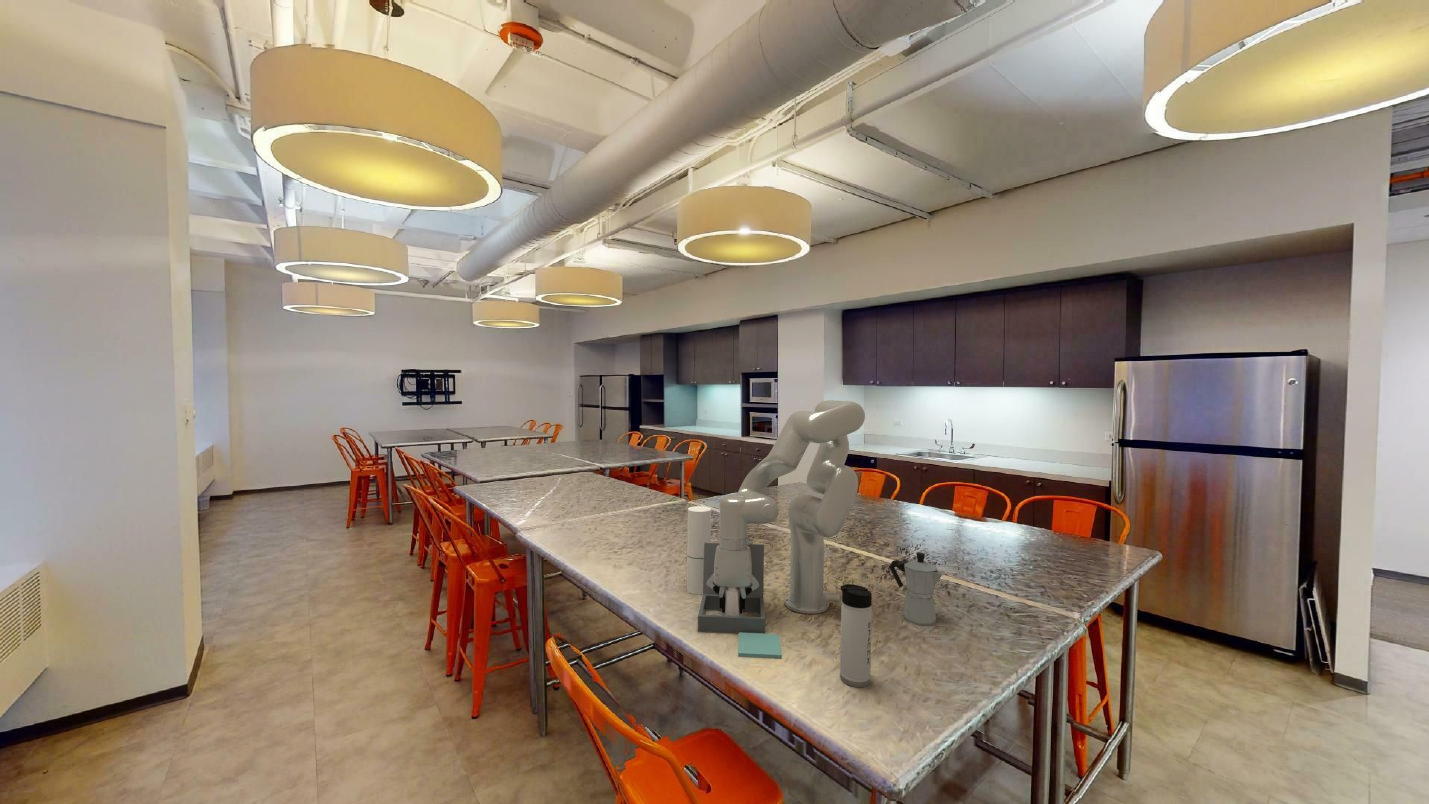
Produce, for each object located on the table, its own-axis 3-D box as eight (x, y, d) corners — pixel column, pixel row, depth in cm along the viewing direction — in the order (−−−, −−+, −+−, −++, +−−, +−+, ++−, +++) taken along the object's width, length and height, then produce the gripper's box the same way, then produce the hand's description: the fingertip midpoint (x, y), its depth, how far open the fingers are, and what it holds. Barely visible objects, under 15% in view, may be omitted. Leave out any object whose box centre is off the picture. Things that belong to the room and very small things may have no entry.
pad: (779, 637, 127) (779, 634, 127) (781, 658, 117) (781, 655, 117) (738, 635, 127) (739, 632, 127) (738, 656, 117) (738, 653, 117)
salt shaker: (717, 620, 135) (718, 579, 135) (731, 614, 139) (732, 574, 139) (732, 627, 132) (732, 585, 131) (746, 621, 135) (746, 580, 135)
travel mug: (834, 671, 111) (836, 581, 111) (863, 670, 112) (865, 581, 112) (844, 688, 105) (846, 593, 105) (875, 687, 106) (877, 592, 105)
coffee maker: (948, 620, 137) (950, 554, 137) (937, 631, 131) (939, 562, 130) (895, 604, 147) (896, 542, 147) (881, 613, 141) (883, 549, 140)
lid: (763, 596, 142) (763, 595, 143) (763, 544, 144) (763, 544, 145) (702, 594, 143) (703, 592, 144) (704, 542, 145) (704, 542, 146)
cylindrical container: (711, 585, 159) (712, 506, 159) (708, 594, 152) (709, 512, 152) (688, 584, 160) (689, 505, 159) (685, 593, 153) (686, 511, 152)
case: (763, 610, 142) (763, 596, 142) (764, 634, 128) (765, 619, 128) (702, 608, 143) (702, 594, 143) (697, 631, 129) (697, 616, 129)
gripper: (764, 539, 138) (763, 606, 139) (703, 537, 139) (702, 603, 140) (765, 548, 131) (764, 618, 131) (700, 546, 132) (699, 616, 132)
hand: (732, 610), depth 135 cm, fingers closed on salt shaker, 4 cm apart
